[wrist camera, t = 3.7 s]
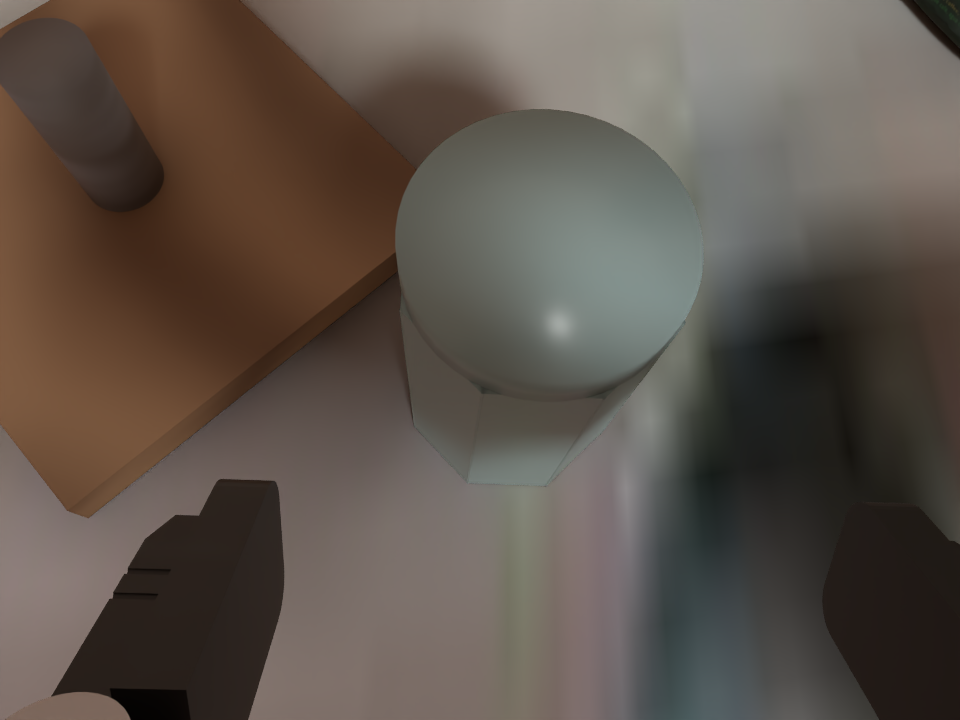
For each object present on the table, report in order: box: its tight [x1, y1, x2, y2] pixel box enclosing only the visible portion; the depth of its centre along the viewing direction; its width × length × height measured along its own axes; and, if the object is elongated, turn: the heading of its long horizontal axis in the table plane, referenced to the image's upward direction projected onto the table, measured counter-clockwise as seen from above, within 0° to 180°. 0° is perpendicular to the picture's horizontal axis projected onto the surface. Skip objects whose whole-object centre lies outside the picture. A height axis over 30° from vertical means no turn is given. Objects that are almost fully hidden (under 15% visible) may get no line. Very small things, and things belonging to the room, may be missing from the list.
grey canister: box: [395, 109, 704, 486], centre depth 18 cm, size 5×5×9 cm
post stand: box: [0, 0, 417, 518], centre depth 21 cm, size 13×14×6 cm
